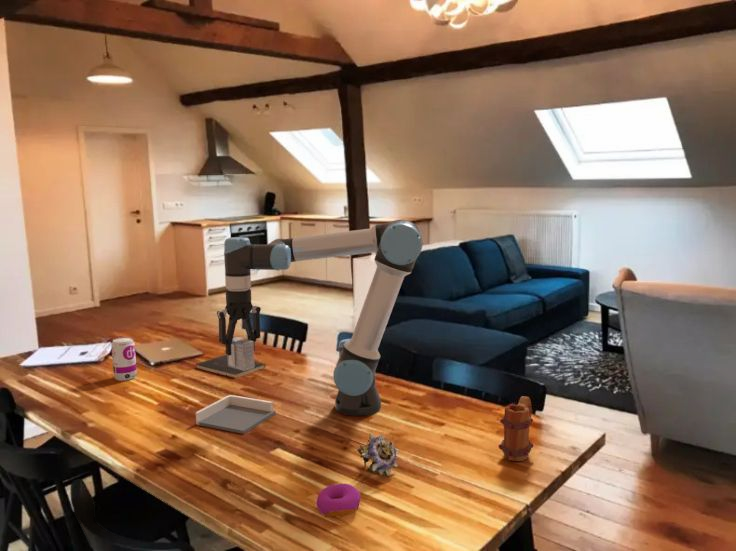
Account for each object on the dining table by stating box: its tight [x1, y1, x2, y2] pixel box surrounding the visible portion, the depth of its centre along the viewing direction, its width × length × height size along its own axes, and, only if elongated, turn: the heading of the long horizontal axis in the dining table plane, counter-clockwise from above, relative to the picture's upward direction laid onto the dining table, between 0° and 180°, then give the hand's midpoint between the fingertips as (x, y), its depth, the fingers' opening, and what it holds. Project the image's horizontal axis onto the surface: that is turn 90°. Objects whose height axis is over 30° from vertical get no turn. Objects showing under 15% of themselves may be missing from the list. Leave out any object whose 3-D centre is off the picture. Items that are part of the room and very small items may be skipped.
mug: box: [498, 395, 534, 462], centre depth 172 cm, size 15×8×15 cm, turn 148°
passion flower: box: [357, 433, 400, 477], centre depth 165 cm, size 11×11×12 cm
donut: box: [315, 483, 361, 518], centre depth 147 cm, size 10×10×4 cm
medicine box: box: [227, 336, 255, 371], centre depth 195 cm, size 8×4×9 cm, turn 49°
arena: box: [195, 394, 277, 435], centre depth 201 cm, size 18×17×4 cm
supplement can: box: [110, 337, 138, 382], centre depth 243 cm, size 8×8×15 cm
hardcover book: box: [195, 354, 266, 379], centre depth 254 cm, size 16×23×2 cm
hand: (240, 363), depth 195 cm, fingers closed on medicine box, 5 cm apart
